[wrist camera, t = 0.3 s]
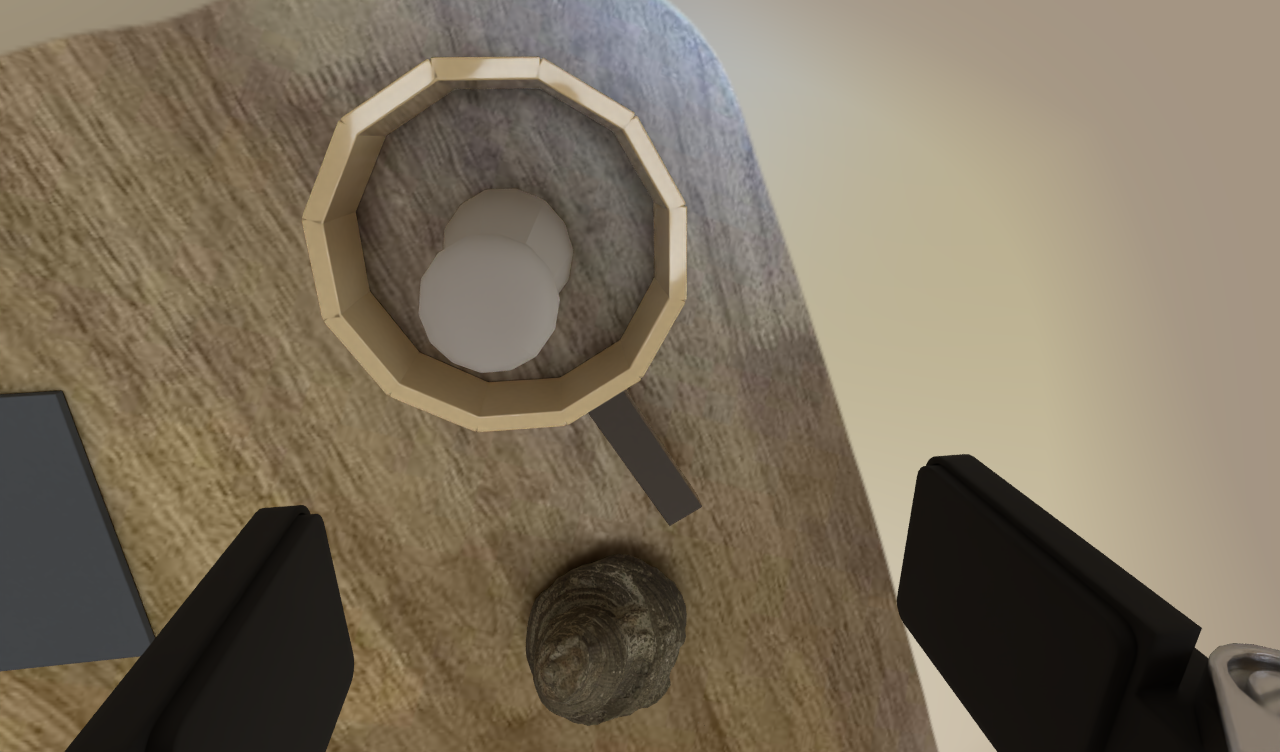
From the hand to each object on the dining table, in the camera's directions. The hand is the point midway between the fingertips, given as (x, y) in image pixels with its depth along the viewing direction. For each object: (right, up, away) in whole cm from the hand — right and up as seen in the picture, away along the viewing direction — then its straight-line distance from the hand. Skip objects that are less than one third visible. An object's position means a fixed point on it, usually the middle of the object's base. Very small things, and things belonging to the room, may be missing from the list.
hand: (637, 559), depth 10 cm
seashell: (-2, -13, +30) cm, 33 cm away
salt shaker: (-6, +9, +21) cm, 24 cm away
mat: (-34, -6, +23) cm, 41 cm away
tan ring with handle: (-6, +6, +22) cm, 24 cm away
